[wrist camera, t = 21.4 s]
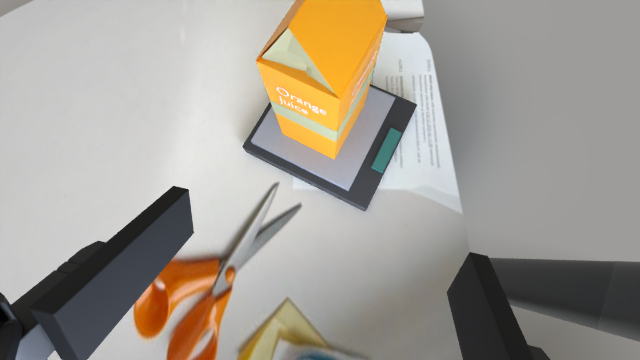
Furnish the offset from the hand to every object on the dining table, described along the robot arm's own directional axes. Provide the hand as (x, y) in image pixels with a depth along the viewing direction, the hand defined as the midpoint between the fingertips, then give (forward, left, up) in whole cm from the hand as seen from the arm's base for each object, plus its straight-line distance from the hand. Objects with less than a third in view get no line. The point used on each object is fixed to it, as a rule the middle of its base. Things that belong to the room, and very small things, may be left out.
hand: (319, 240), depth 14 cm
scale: (+6, -15, -23) cm, 28 cm away
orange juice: (+7, -15, -21) cm, 26 cm away
